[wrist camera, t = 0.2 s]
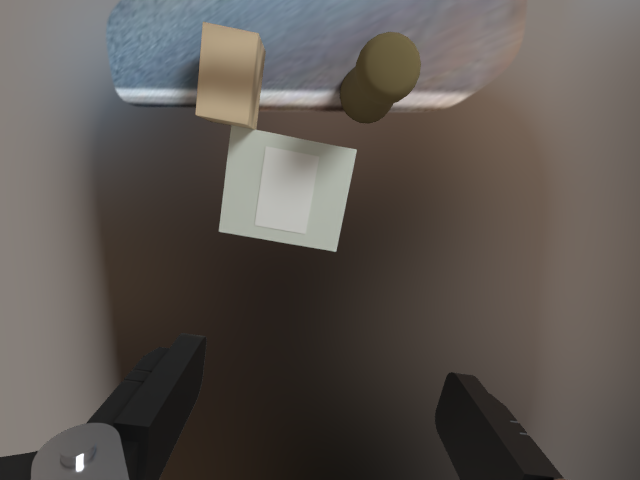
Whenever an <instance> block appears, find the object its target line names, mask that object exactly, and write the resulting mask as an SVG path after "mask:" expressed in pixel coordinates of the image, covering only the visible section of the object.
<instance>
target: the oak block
mask: <svg viewBox="0 0 640 480" xmlns="http://www.w3.org/2000/svg"><path fill="white" fill-rule="evenodd" d="M264 61H265V49H264V46H263V44H262V41H261V39H260V36H259V33H254V32H249V31H245V30H240V29H235V28H230V27H225V26H221V25H216V24H211V23H206V22H203V28H202V40H201V52H200V65H199V77H198V89H197V102H196V115H197V116H199V117H201V118H204V119H206V120H208V121H210V122H215V123H221V124H225V125H234V126H239V127H244V128H249V129H254V130H256V127H257V119H258V109H259V101H260V93H261V85H262V77H263V69H264Z"/></svg>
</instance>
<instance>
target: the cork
mask: <svg viewBox="0 0 640 480" xmlns="http://www.w3.org/2000/svg"><path fill="white" fill-rule="evenodd" d="M420 67H421V62H420V56H419V52H418V50H417V48H416V46H415V44H414V43H413V42H412V41H411V40H410V39H409V38H408V37H406V36H404V35H402V34H400V33H395V32H386V33H383V34H379V35H377V36H376V37H374V38H373V39H371V40H370V41H368V42H367V44H366V45H365V46H364V47H363V49H362V50H361V52H360V55H359V57H358V60H357V62H356V67H354V68H353V69H352V70H351V71H350V72H349V73H348V74H347V76H346V77H345V78H344V80H343V83H342V85H341V89H340V100H341V104H342V107H343V109H344V111H345V112H346V114H347V115H348V116H349V117H351V118H352V119H353V120H355V121H357V122H360V123H372V122H376V121H378V120H380V119H381V118H383V117H384V116H385V115H386V114H387V113H388V111H389V110H390V109H391V107H392V105H393V103H395V102H398V101H400V100H401V99H403V98H404V97H406V96H407V95H408V94H409V93H410V92H411V91H412V89H413V88H414V87H415V85H416V82H417V80H418V78H419V75H420Z"/></svg>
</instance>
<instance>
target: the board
mask: <svg viewBox="0 0 640 480" xmlns="http://www.w3.org/2000/svg"><path fill="white" fill-rule="evenodd" d="M356 152H357V150H356V149H350V148H345V147H340V146H335V145H330V144H325V143H320V142H315V141H310V140H305V139H300V138H294V137H290V136H285V135H279V134H274V133H269V132H264V131H259V130H254V129H249V128H244V127H239V126H234V125H231V131H230V140H229V148H228V157H227V165H226V174H225V183H224V191H223V199H222V208H221V217H220V225H219V232H224V233H230V234H235V235H241V236H247V237H253V238H260V239H265V240H270V241H276V242H282V243H288V244H294V245H300V246H305V247H312V248H318V249H323V250H329V251H335V252H336V250H337V244H338V240H339V235H340V230H341V225H342V220H343V215H344V210H345V205H346V201H347V196H348V191H349V186H350V181H351V176H352V171H353V166H354V161H355V157H356Z"/></svg>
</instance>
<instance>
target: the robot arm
mask: <svg viewBox="0 0 640 480" xmlns="http://www.w3.org/2000/svg"><path fill="white" fill-rule="evenodd" d="M206 342H207V339H206V337H205V336H197V335H191V334H184V333H182V334H180V335H179V337H178V338H177V339H176V341H175V342H174V343H173V345H172V346H171V347H170V348H162V347H159V348H157V349H155V350H154V351H152V352H150V353H148V354H147V355H145V356H143V358H142V359H141V360H140V361H139V362H138V364H137V365H136V366H135V367H134V368H133V371H131V372H130V373H129V374H128V375H127V376H126V378H125V379H124V381H123V382H121V383H120V384H119V386H118V387H117V388H116V389H115V390H114V392H113V393H112V394H111V395H110V396H109V397H108V398H107V400H106V401H105V402H104V403H103V404H102V405H101V407H100V408H99V409H98V410H97V411H96V412H95V414H94V415H93V416H92V417H91V418H90V419H89V421H88V422H87V423H86V424H82V425H78V426H75V427H72V428H70V429H67V430H65V431H63V432H61V433H59V434H58V435H56V436H55V437H53V438H52V439H50V440H49V441H48V442H47V443H46V444H44V445H43V447H42V448H41V449H40V450H39V451H36V452H31V453H25V454H19V455H12V456H6V457H0V480H159V478H160V476H161V474H162V472H163V470H164V468H165V466H166V464H167V461H168V459H169V457H170V455H171V453H172V451H173V449H174V447H175V445H176V443H177V440H178V438H179V436H180V434H181V432H182V430H183V428H184V426H185V424H186V422H187V419H188V417H189V415H190V413H191V411H192V409H193V407H194V405H195V403H196V400H197V398H198V395H199V392H200V388H201V384H202V379H203V370H204V361H205V352H206ZM435 424H436V429H437V432H438V434H439V436H440V438H441V441H442V442H443V444H444V447H445V449H446V451H447V453H448V455H449V457H450V459H451V462H452V464H453V466H454V468H455V470H456V472H457V474H458V476H459V478H460V480H568V479H564V478H563V477H562V475H561V474H560V473H559V472H558V470H557V469H556V468H555V467H554V465H552V463H551V462H550V461H549V459H548V458H547V457H546V455H545V454H544V453H543V452H542V451H541V449H540V448H539V447H538V446H537V444H536V443H535V442H534V441H533V439H532V438H531V437H530V436H528V435H527V432H526V431H525V429H524V428H523V427H522V426H521V425H520V424H519V423H517V420H516V418H515V417H514V416H513V415H512V413H511V412H510V411H509V410H508V408H507V407H506V406H505V405H503V404H502V403H501V402H500V401H499V400H497V399H496V398H495V397H494V396H492V395H491V394H489V393H488V392H487V390H486V389H485V388H484V387H483V385H482V384H481V383H480V381H479V380H478V379H477V378H476V377H475V376H473V375H466V374H460V373H452V372H451V373H449V374H448V375H447V377H446V380H445V383H444V386H443V390H442V393H441V396H440V399H439V402H438V405H437V408H436V413H435Z"/></svg>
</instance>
